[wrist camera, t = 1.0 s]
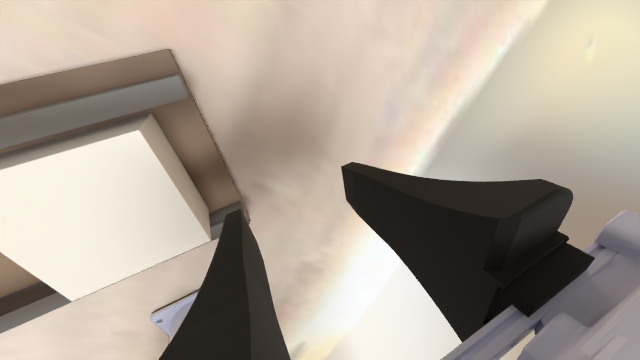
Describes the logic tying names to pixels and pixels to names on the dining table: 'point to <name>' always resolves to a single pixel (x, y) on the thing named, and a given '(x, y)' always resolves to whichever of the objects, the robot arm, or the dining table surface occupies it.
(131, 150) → the white flat square block
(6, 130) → the bay
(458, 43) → the dining table surface
